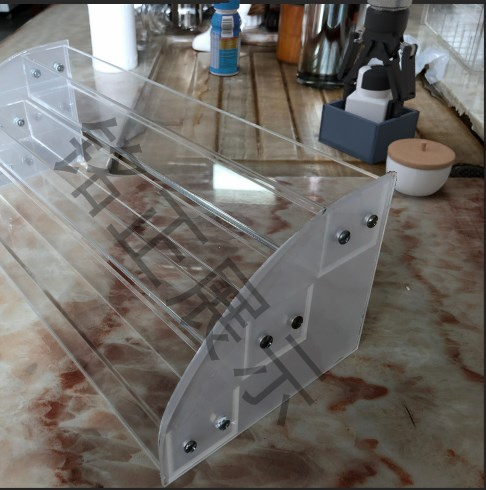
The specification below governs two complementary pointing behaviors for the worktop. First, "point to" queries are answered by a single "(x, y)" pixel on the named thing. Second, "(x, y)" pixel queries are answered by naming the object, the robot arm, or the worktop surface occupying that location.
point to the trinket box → (419, 165)
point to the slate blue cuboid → (364, 131)
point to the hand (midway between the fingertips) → (367, 123)
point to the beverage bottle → (225, 39)
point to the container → (370, 94)
